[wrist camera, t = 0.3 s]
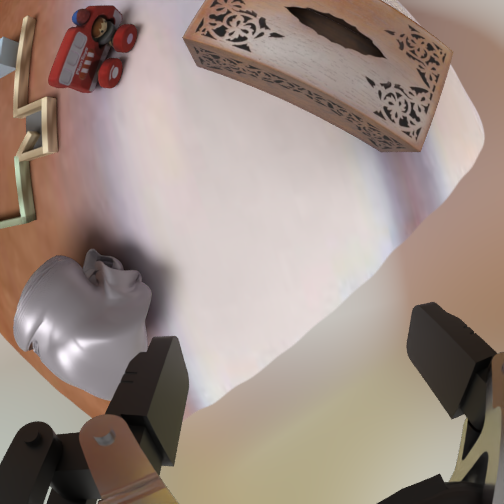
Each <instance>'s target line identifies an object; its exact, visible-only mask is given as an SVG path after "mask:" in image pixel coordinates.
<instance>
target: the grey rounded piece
mask: <svg viewBox="0 0 504 504" xmlns="http://www.w3.org/2000/svg"><path fill="white" fill-rule="evenodd" d="M55 259H56V260H55ZM61 259H63V260H61ZM49 260H50V261H49ZM49 260H47V261H46V262H45V263H44V264H42V265H41V266H40V267H39V269H37V270H36V271H35V272H34V273H33V275H32V276H31V277H30V279H29V280H28V282H27V283H26V285H25V287H24V289H23V292H22V294H21V297H20V300H19V303H18V305H17V307H18V308H17V311H16V314H15V318H14V321H15V322H14V327H13V329H14V337H15V340H16V342H17V344H18V346H19V347H20V348H21V349H22V350H23V351H28V350H29V351H30V350H32V349H33V350H34V352H35V353H36V354H37V355H38V356H39V357H40V359H41V361H42V362H43V363H44V365H45V366H47V368H49V370H50V371H51V372H53V373H54V374H55V375H56V376H57V377H59V378H60V379H61V380H63V381H64V382H66V383H68V384H70V385H73V386H76V387H78V388H80V389H82V390H84V391H86V392H88V393H90V394H92V395H94V396H96V397H99V398H102V399H105V400H109V401H111V400H112V398H113V395H114V393H115V391H116V389H117V387H118V385H119V383H121V379H122V376H123V374H125V370H126V368H127V366H128V364H129V362H130V361H131V360H132V359H133V358H134V357H135V356H136V355H137V354H138V353H140V352H147V349H148V340H147V332H146V326H145V319H146V316H147V313H148V309H149V306H150V302H151V296H152V292H151V289H150V288H149V287H148V286H147V285H146V284H144V283H143V282H142V276H141V274H140V272H138V271H137V270H127V271H126V270H124V269H123V266H122V264H121V262H120V261H119V260H118V259H116V258H115V257H112V256H103V255H100V254H99V253H98V252H97V251H96V250H95V249H90V250H89V251H88V252H87V254H86V257H85V262H84V266H83V268H82V267H81V266H80V265H79V264H78V263H77V262H76V261H74V260H73V259H71V258H69V257H66V256H61V255H60V256H59V255H58V256H55V257H52V258H50V259H49ZM58 260H60V261H58Z"/></svg>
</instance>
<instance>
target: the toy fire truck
mask: <svg viewBox="0 0 504 504" xmlns="http://www.w3.org/2000/svg"><path fill="white" fill-rule="evenodd" d="M72 21H73V23H74V24H76V25H77V26H76V27H71V28H69V29H68V31H67V32H66V34H65V36H64V39H63V41H62V43H61V46H60V48H59V51H58V53H57V56H56V58H55V61H54V64H53V66H52V69H51V72H50V75H49V78H48V83H49V85H51V86H53V87H56V88H66V87H68V88H72V89H74V90H77V91H80V92H82V93H91V92H93V90H94V89H95V86H96V83H97V80H98V81H99V84H100V86H101V87H103V88H113V87H115V86H116V85H117V83H118V82H119V80H120V78H121V74H122V62H121V60H120V59H118V58H108V59H106V56H107V54H108V51H109V48H110V46H113V47H114V50H115V51H116V52H122V53H126V52H129V51H130V50H131V49H132V48H133V46H134V44H135V42H136V38H137V29H136V27H135V26H134V25H132V24H124V25H121V26H120V23H121V21H122V14H121V13H120V12H119V11H118V10H117V9H116V8H115V7H114V6H88V7H87V8H86V9H80V10H77V11H76V12H75V13H74V14H73V16H72ZM119 26H120V27H119ZM105 59H106V60H105Z"/></svg>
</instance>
